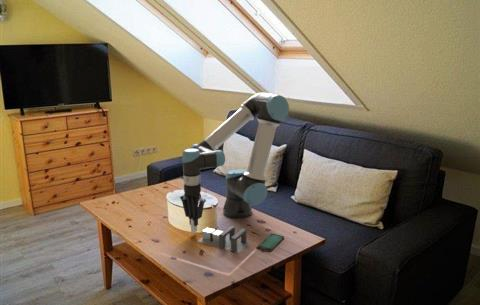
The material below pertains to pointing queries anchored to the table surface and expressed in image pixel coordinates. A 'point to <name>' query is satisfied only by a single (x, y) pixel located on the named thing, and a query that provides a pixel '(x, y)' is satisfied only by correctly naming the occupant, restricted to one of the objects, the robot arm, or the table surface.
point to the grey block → (211, 235)
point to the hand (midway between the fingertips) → (194, 231)
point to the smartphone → (270, 242)
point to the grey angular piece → (230, 240)
